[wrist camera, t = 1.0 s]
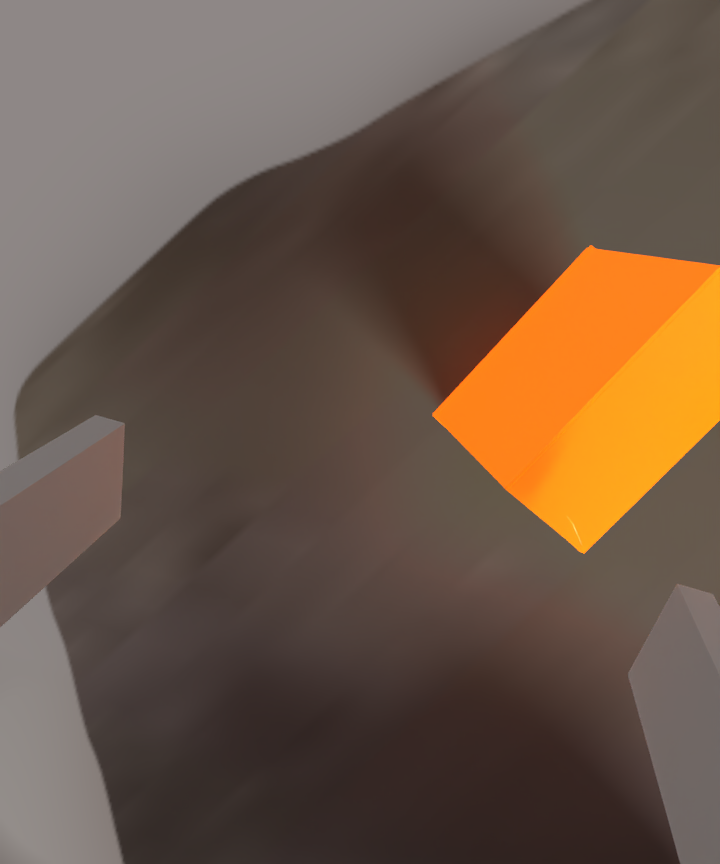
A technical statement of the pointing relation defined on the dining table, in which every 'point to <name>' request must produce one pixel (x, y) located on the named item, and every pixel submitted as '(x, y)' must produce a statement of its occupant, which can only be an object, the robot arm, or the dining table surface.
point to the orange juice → (596, 389)
